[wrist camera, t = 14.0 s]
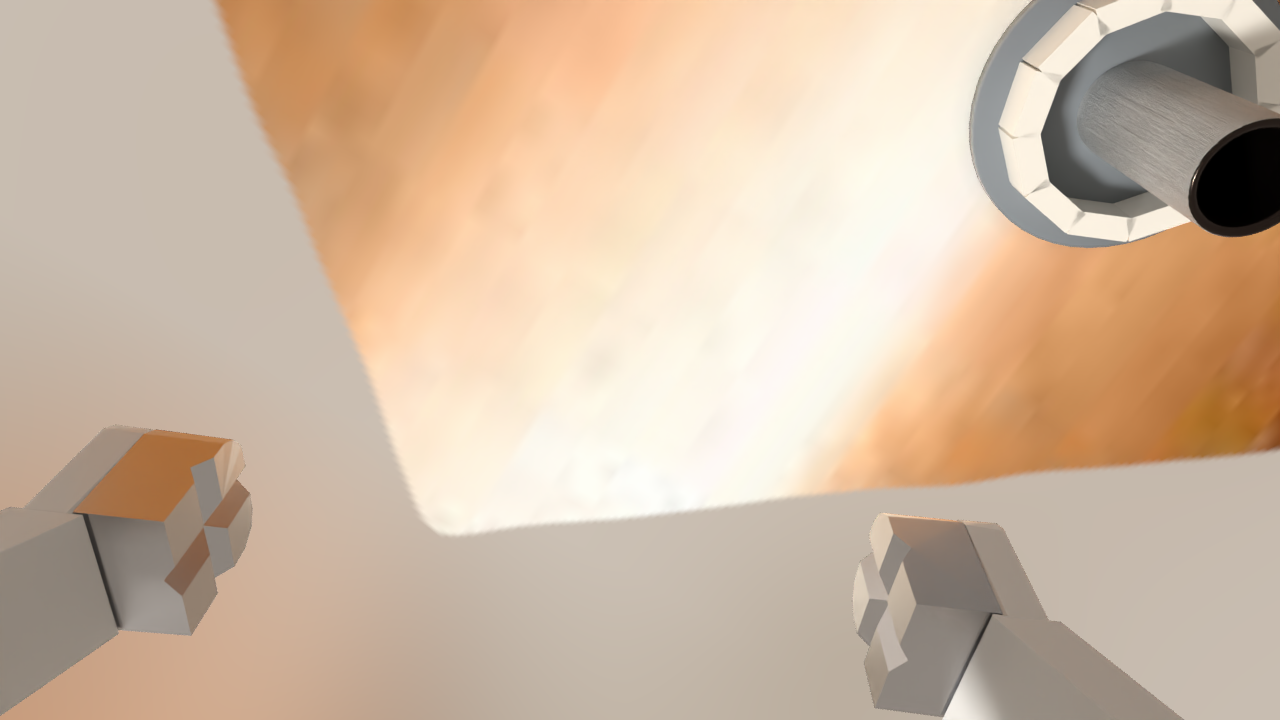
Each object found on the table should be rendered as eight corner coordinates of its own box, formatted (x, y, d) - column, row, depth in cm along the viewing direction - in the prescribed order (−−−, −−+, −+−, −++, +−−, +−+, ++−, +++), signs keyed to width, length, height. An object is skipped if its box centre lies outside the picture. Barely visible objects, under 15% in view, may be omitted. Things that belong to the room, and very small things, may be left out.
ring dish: (1029, -78, 36) (1053, -74, 34) (1341, -34, 37) (1387, -27, 34) (932, 223, 44) (947, 244, 41) (1194, 257, 44) (1224, 280, 42)
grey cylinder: (1151, 37, 38) (1296, 91, 29) (1193, 114, 40) (1342, 187, 31) (1057, 104, 40) (1167, 174, 31) (1102, 175, 41) (1218, 261, 32)
